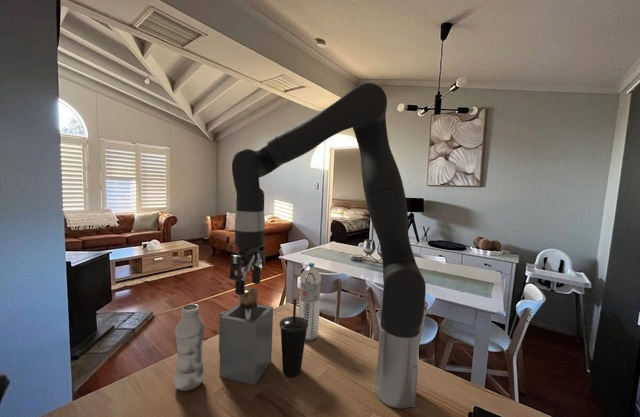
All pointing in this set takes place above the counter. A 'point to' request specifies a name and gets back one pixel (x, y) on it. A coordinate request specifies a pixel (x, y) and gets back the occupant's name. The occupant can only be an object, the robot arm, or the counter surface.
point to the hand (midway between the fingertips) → (248, 288)
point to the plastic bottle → (189, 349)
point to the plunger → (248, 301)
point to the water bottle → (310, 300)
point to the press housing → (245, 343)
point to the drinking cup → (293, 343)
